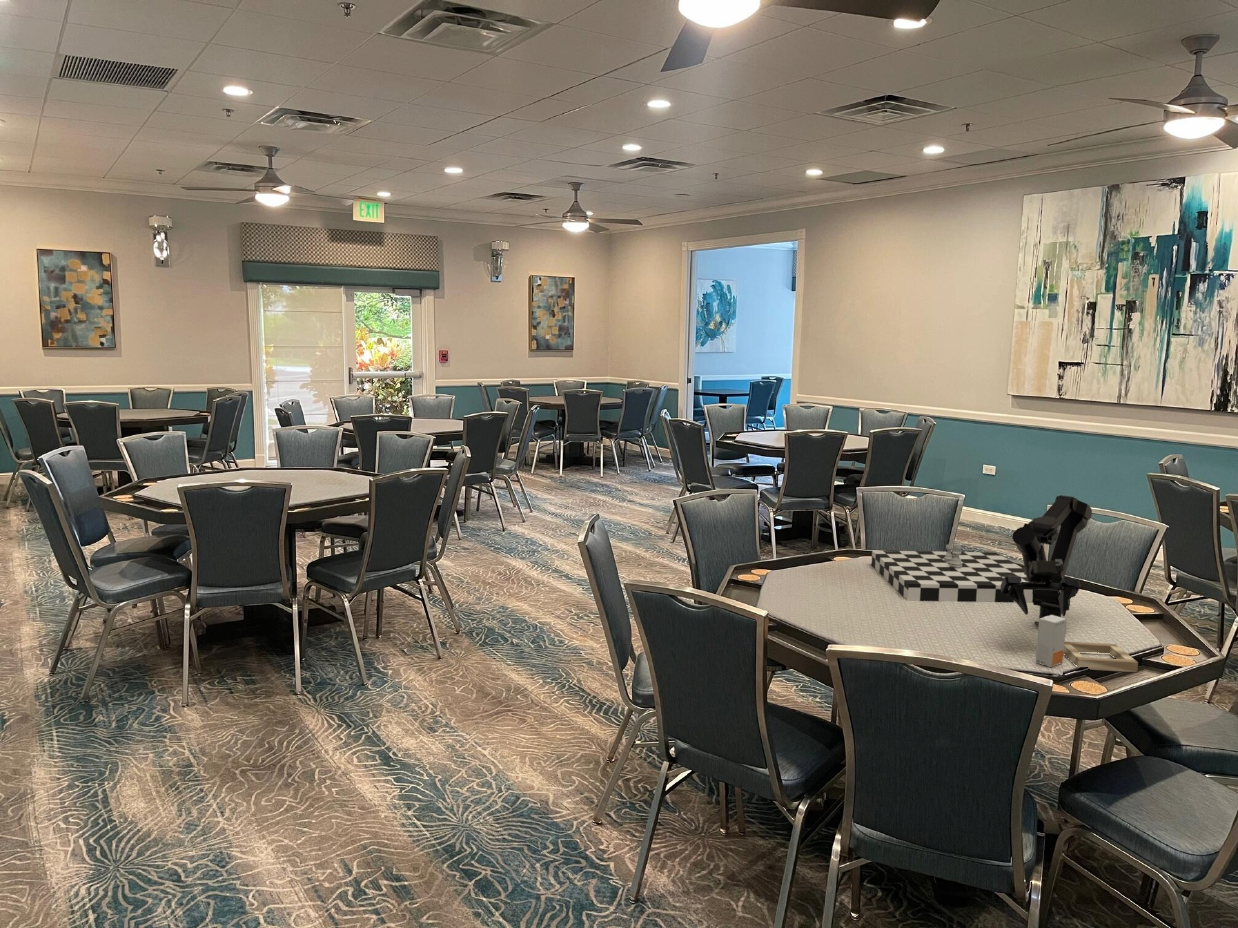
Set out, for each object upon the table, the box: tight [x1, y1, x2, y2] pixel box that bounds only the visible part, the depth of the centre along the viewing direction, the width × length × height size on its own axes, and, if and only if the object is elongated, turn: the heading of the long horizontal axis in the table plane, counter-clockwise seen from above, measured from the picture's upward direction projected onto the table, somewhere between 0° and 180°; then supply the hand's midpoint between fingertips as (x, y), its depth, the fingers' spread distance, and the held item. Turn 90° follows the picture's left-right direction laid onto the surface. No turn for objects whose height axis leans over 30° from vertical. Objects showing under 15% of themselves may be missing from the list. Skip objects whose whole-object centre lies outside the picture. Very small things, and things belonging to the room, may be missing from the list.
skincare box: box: [1034, 615, 1067, 668], centre depth 231 cm, size 6×4×12 cm
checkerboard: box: [871, 541, 1033, 604], centre depth 307 cm, size 45×45×15 cm
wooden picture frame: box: [1063, 640, 1139, 673], centre depth 234 cm, size 14×14×2 cm
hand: (1045, 614), depth 235 cm, fingers open, 9 cm apart
